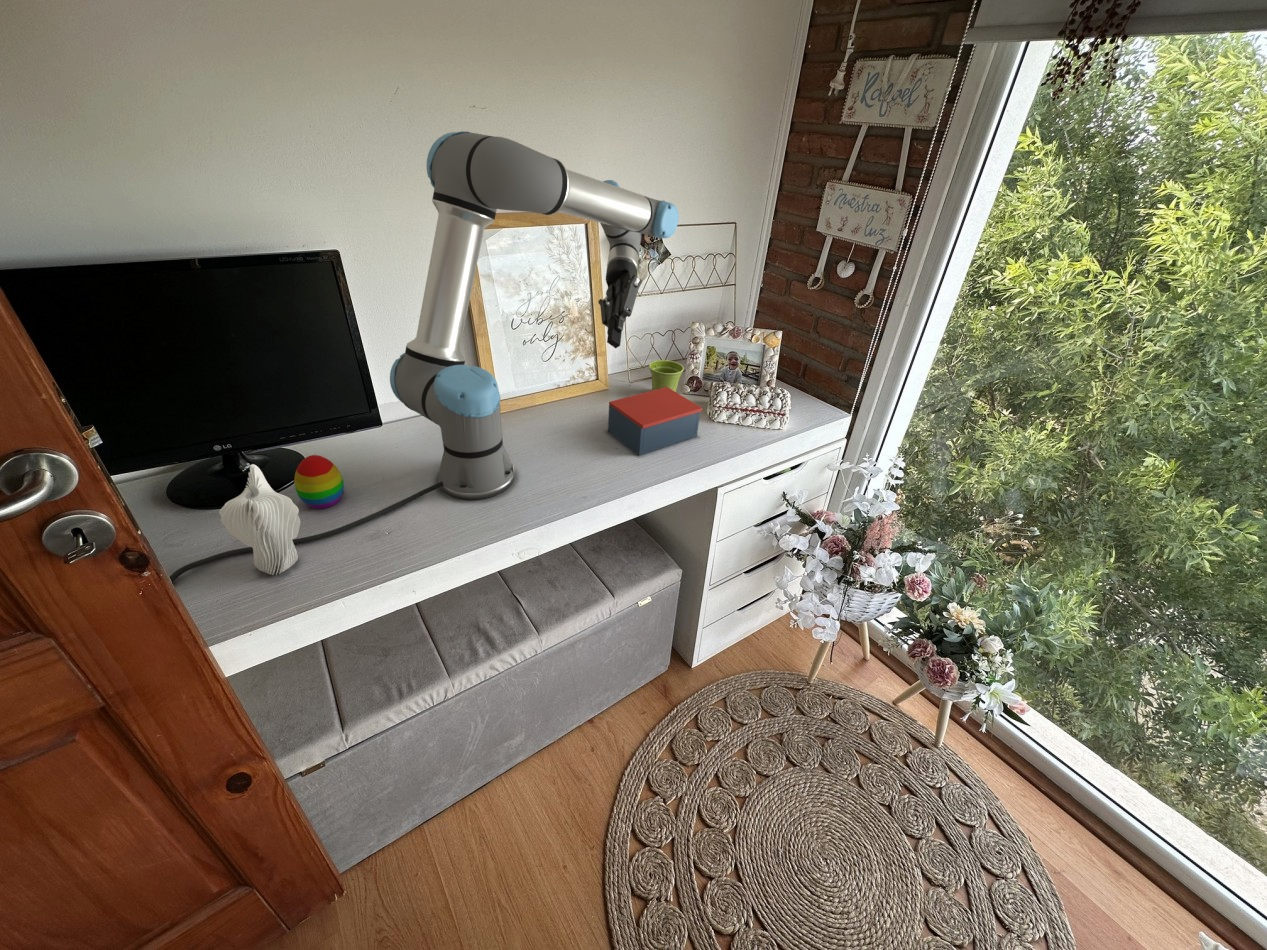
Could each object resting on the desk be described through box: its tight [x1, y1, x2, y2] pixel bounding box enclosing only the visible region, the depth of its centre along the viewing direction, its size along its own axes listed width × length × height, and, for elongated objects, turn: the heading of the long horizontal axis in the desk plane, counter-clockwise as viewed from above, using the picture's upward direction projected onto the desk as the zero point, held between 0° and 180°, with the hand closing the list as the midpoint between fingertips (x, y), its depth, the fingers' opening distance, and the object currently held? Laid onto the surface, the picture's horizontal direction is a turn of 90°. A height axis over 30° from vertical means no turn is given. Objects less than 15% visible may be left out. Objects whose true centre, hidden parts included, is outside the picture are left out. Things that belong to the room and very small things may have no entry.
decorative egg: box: [293, 454, 345, 510], centre depth 110 cm, size 8×8×10 cm
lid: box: [608, 387, 703, 429], centre depth 138 cm, size 14×18×1 cm
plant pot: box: [648, 359, 685, 393], centre depth 159 cm, size 9×9×9 cm
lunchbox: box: [607, 404, 701, 456], centre depth 140 cm, size 13×18×7 cm
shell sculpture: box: [218, 463, 301, 576], centre depth 92 cm, size 8×8×18 cm
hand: (613, 343), depth 130 cm, fingers closed
